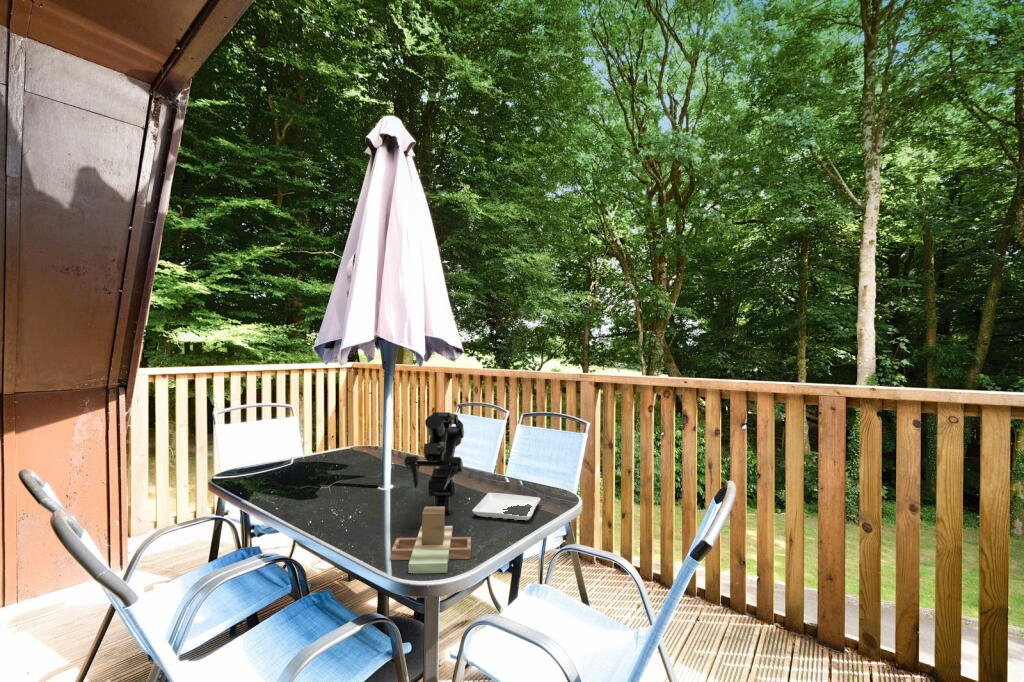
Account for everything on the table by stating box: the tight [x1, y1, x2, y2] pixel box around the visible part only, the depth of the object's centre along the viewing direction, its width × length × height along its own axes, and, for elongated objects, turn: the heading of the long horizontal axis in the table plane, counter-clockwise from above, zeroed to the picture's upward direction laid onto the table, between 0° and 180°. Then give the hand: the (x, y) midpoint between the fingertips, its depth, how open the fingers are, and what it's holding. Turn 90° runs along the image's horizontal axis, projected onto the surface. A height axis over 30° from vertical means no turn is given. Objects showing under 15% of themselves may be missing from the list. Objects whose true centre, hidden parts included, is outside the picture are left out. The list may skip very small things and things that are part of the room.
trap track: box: [390, 525, 472, 574], centre depth 134 cm, size 26×22×2 cm
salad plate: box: [471, 492, 541, 521], centre depth 169 cm, size 21×21×3 cm
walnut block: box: [421, 506, 446, 545], centre depth 135 cm, size 6×6×9 cm
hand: (429, 488), depth 147 cm, fingers open, 9 cm apart
